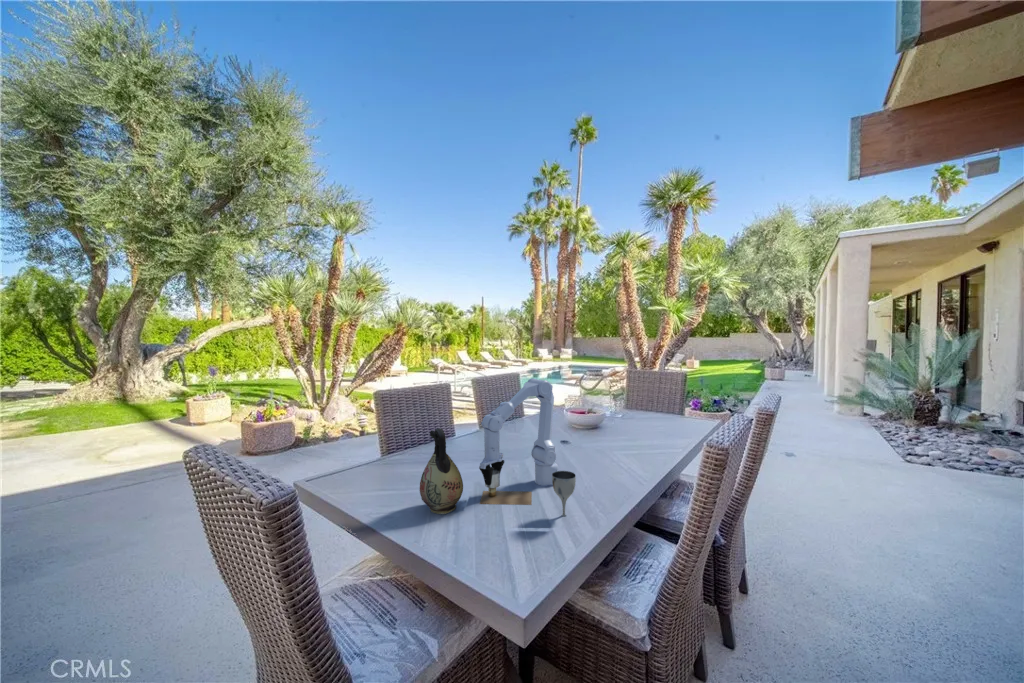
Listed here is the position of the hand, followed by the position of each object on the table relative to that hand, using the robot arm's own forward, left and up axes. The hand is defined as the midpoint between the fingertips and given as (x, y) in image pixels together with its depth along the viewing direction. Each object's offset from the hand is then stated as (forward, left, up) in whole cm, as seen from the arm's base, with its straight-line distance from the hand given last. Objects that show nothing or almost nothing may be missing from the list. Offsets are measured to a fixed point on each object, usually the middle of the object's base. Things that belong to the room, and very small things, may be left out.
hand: (492, 481), depth 153 cm
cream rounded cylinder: (0, 0, -6) cm, 6 cm away
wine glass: (-26, +15, -7) cm, 31 cm away
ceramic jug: (+17, +10, -7) cm, 21 cm away
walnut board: (-6, +1, -6) cm, 9 cm away
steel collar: (0, 0, -1) cm, 1 cm away
